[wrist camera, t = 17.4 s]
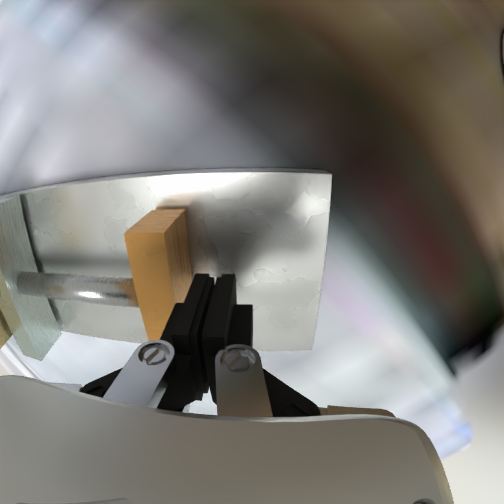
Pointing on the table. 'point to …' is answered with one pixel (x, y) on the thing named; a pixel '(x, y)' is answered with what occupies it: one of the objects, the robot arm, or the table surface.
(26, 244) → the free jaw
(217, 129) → the table surface
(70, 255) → the vise
